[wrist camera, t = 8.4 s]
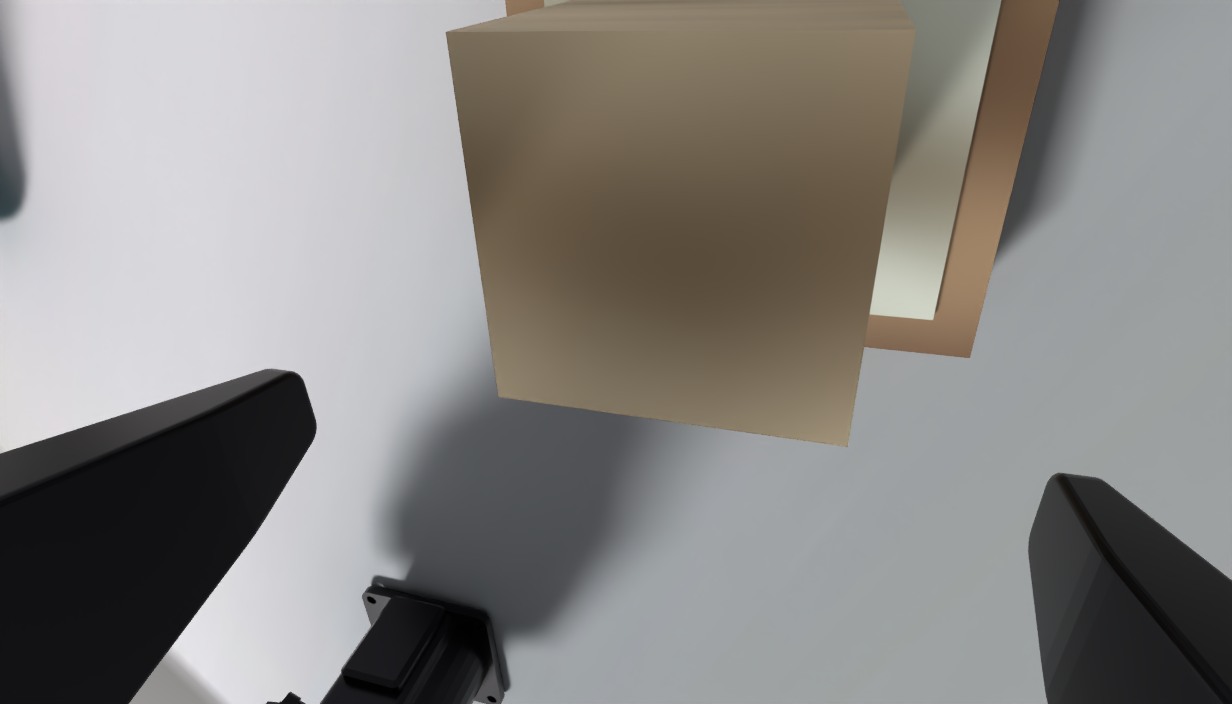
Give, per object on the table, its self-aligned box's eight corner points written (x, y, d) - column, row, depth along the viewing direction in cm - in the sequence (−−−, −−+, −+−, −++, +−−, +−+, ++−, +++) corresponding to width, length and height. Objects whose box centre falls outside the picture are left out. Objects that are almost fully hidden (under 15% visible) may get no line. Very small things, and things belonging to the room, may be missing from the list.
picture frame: (955, 302, 19) (970, 362, 17) (574, 269, 22) (535, 316, 19) (1071, -209, 14) (1123, -242, 11) (542, -164, 17) (482, -181, 14)
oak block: (851, 231, 16) (847, 446, 9) (637, 217, 17) (498, 396, 11) (887, -21, 13) (916, 29, 7) (631, -15, 15) (445, 32, 8)
